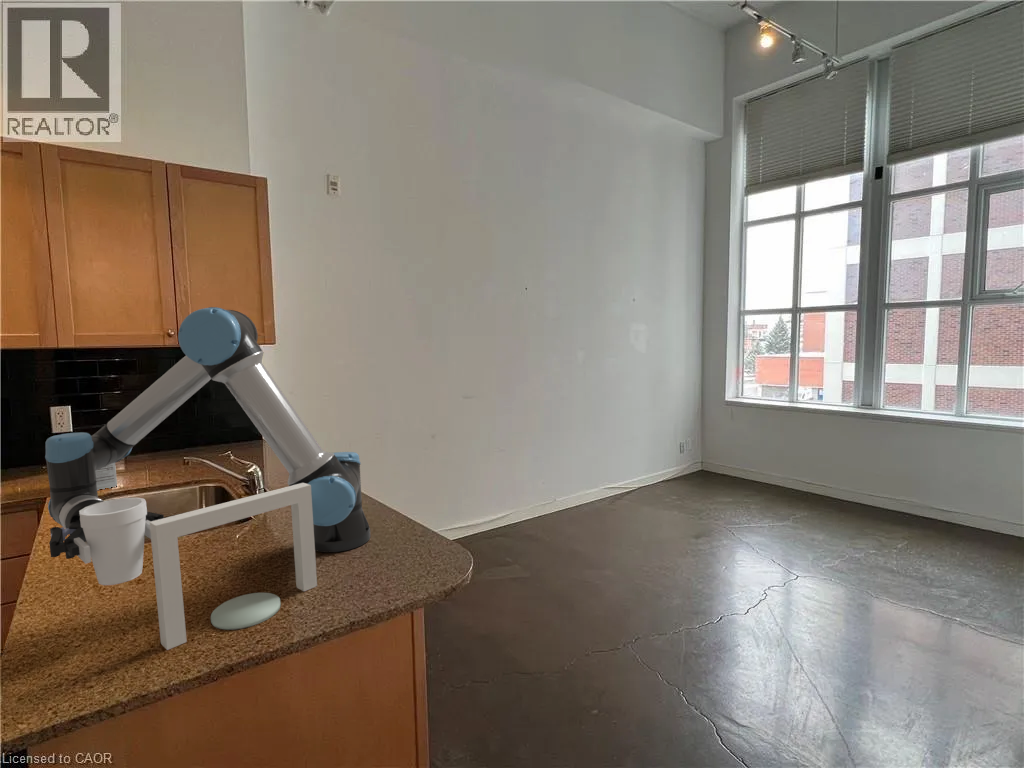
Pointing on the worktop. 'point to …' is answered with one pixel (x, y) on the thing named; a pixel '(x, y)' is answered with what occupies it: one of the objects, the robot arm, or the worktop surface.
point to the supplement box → (106, 477)
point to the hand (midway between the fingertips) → (124, 544)
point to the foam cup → (115, 538)
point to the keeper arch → (167, 530)
